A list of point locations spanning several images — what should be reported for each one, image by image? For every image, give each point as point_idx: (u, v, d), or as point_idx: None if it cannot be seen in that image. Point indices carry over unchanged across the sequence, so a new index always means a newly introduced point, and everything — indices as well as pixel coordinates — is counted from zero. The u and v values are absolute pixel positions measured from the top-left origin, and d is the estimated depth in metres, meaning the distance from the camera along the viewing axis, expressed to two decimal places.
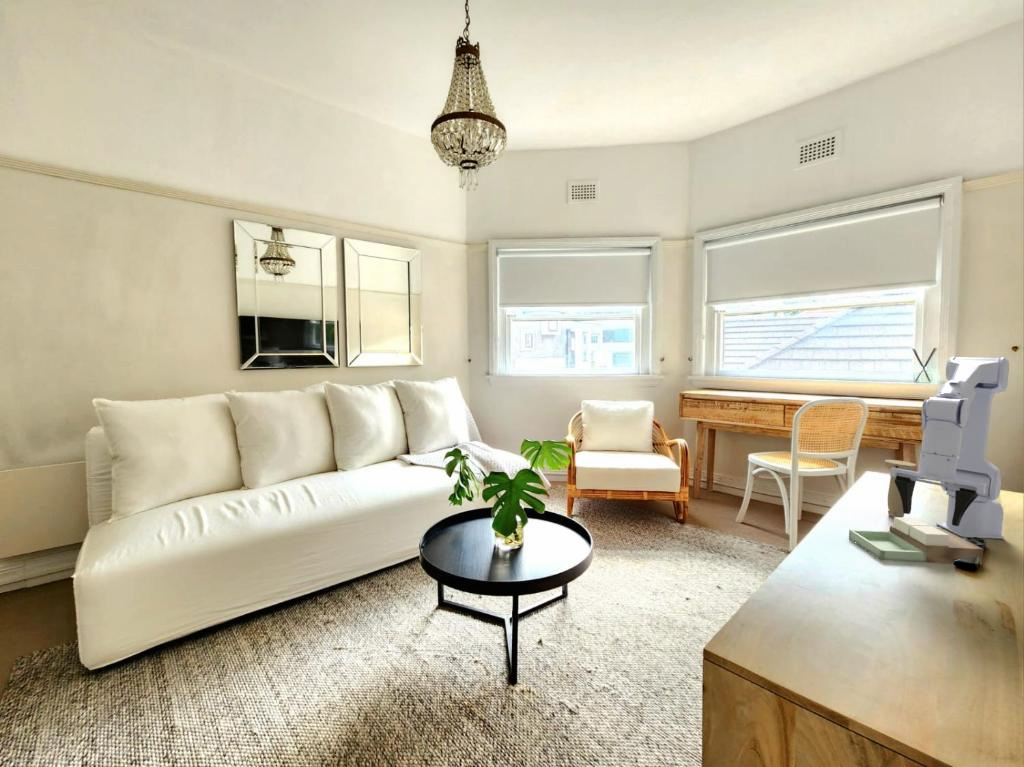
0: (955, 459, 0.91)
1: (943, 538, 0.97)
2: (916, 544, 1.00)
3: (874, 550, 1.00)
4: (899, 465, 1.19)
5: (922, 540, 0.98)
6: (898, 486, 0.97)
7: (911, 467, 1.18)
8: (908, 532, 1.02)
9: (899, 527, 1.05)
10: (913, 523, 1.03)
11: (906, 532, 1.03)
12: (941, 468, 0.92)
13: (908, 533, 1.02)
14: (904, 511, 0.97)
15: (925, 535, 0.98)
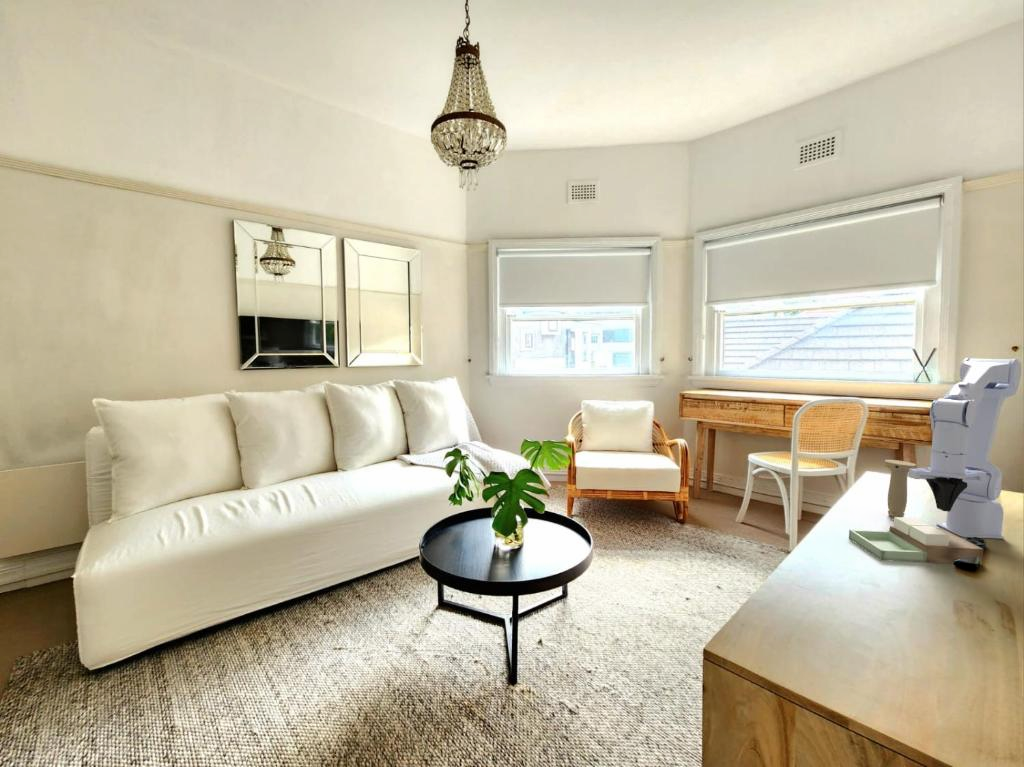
0: None
1: (943, 538, 0.97)
2: (916, 544, 1.00)
3: (874, 550, 1.00)
4: (899, 465, 1.19)
5: (922, 540, 0.98)
6: (945, 489, 1.01)
7: (911, 467, 1.18)
8: (908, 532, 1.02)
9: (899, 527, 1.05)
10: (913, 523, 1.03)
11: (906, 532, 1.03)
12: (963, 466, 1.00)
13: (908, 533, 1.02)
14: (945, 509, 1.02)
15: (925, 535, 0.98)
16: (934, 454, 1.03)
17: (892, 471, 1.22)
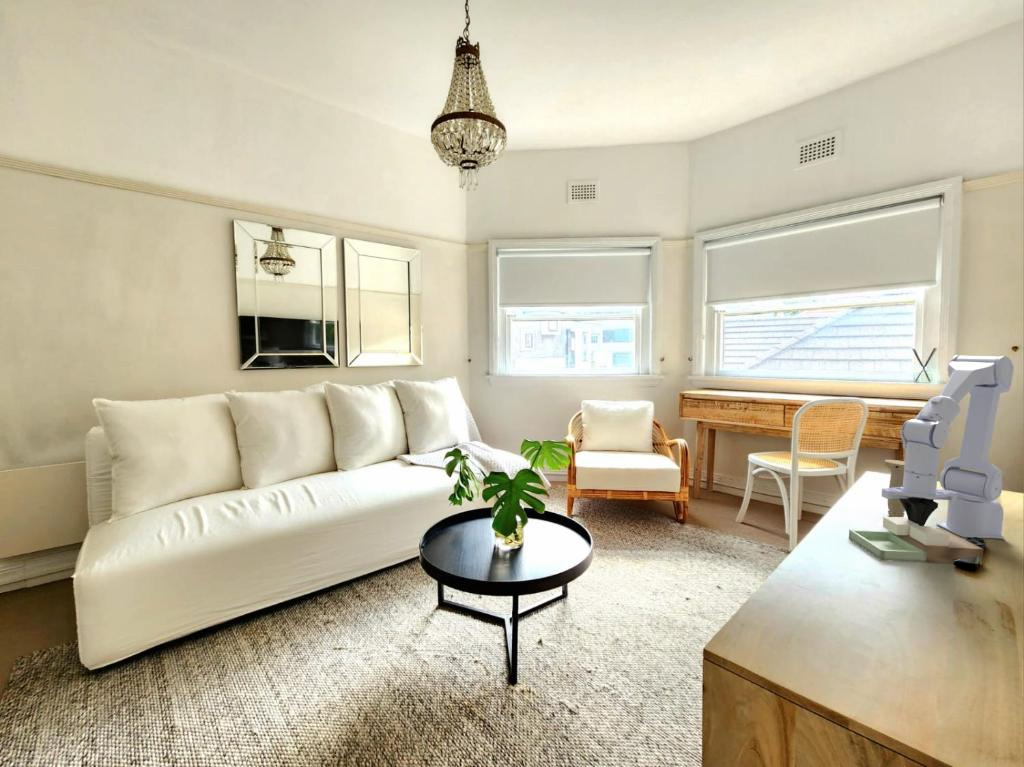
0: None
1: (943, 538, 0.97)
2: (916, 544, 1.00)
3: (874, 550, 1.00)
4: (899, 465, 1.19)
5: (922, 540, 0.98)
6: (917, 509, 1.02)
7: None
8: (897, 532, 1.03)
9: (888, 527, 1.05)
10: (902, 523, 1.03)
11: (895, 532, 1.03)
12: (934, 486, 1.01)
13: (897, 533, 1.03)
14: None
15: (925, 535, 0.98)
16: (906, 474, 1.04)
17: (892, 471, 1.22)
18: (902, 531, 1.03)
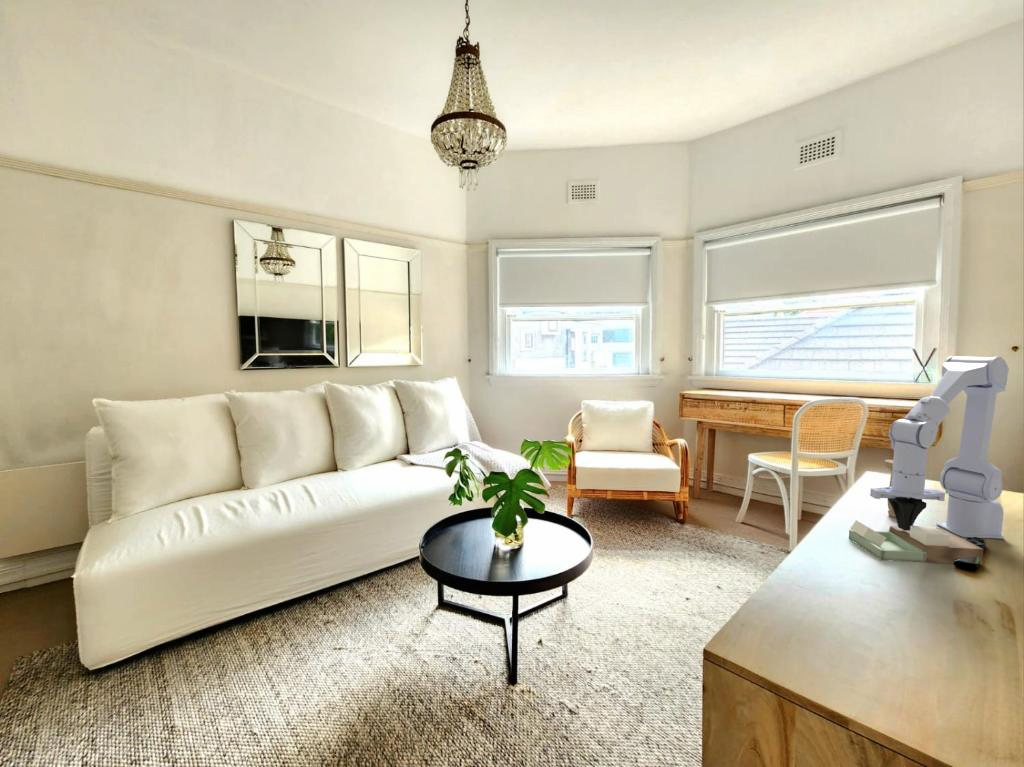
0: None
1: (943, 538, 0.97)
2: (916, 544, 1.00)
3: (874, 550, 1.00)
4: None
5: (922, 540, 0.98)
6: (905, 509, 1.02)
7: None
8: (884, 540, 1.03)
9: None
10: (871, 541, 1.04)
11: None
12: (922, 486, 1.01)
13: (884, 539, 1.03)
14: (905, 528, 1.03)
15: (925, 535, 0.98)
16: (894, 474, 1.04)
17: None
18: (879, 538, 1.03)
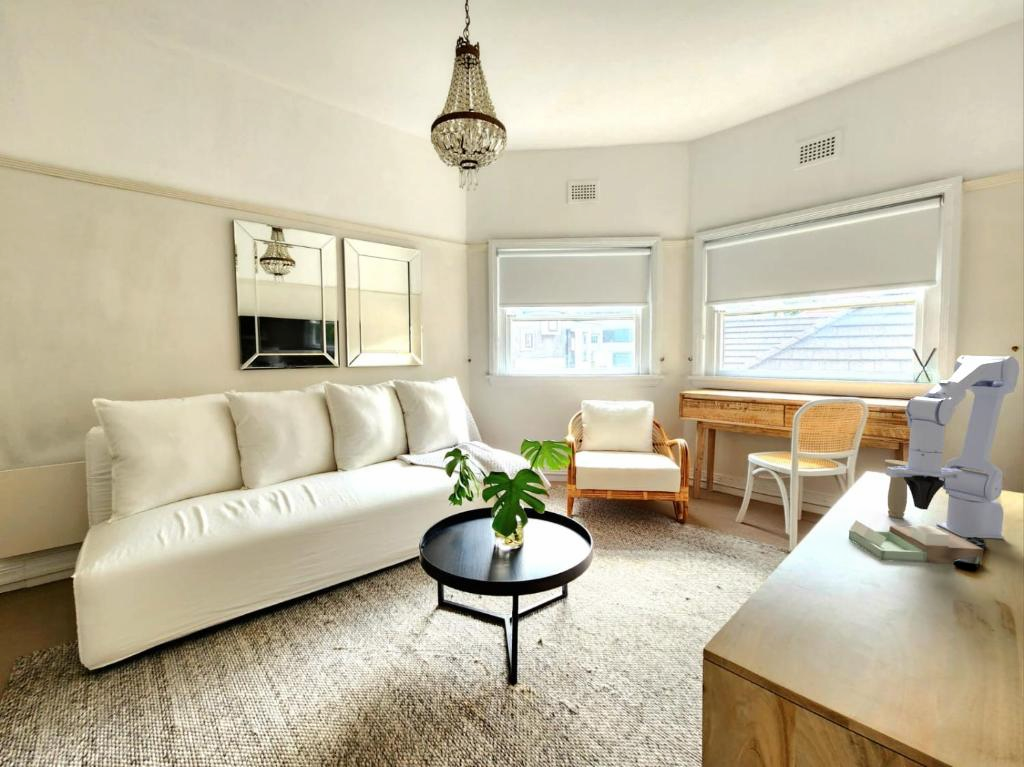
0: None
1: (943, 538, 0.97)
2: (916, 544, 1.00)
3: (874, 550, 1.00)
4: (899, 465, 1.19)
5: (922, 540, 0.98)
6: (922, 487, 1.01)
7: None
8: (884, 540, 1.03)
9: None
10: (871, 541, 1.04)
11: None
12: (939, 464, 1.00)
13: (884, 539, 1.03)
14: (922, 507, 1.02)
15: (925, 535, 0.98)
16: (911, 452, 1.03)
17: None
18: (879, 538, 1.03)
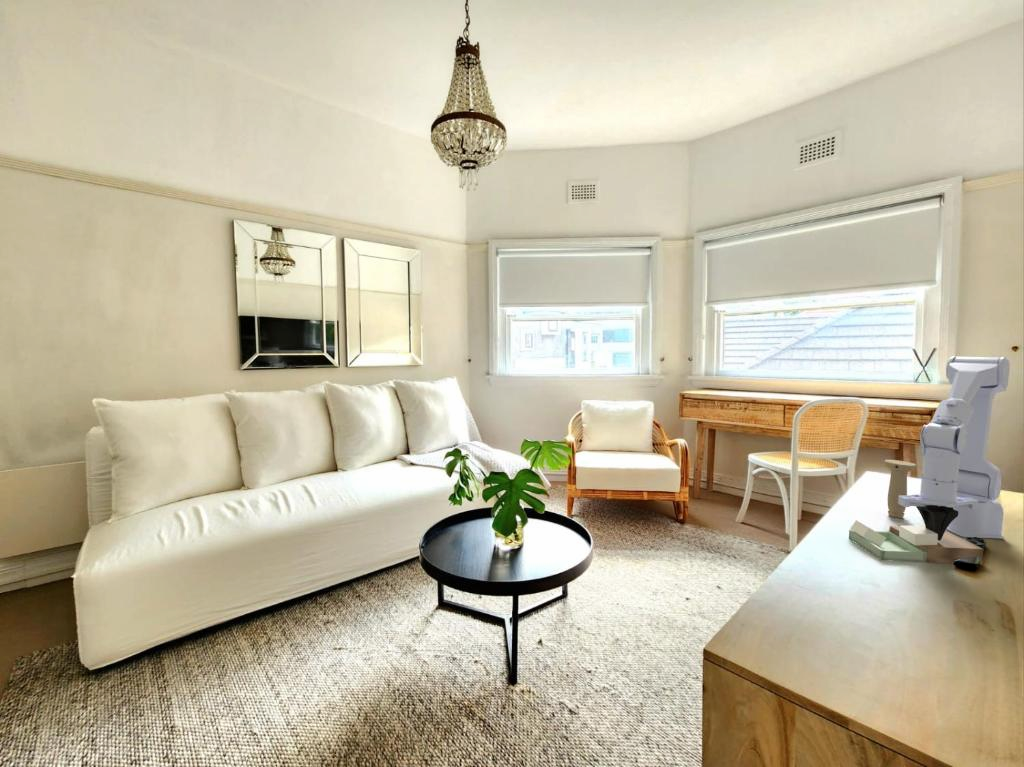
0: None
1: (931, 537, 0.97)
2: None
3: (874, 550, 1.00)
4: (899, 465, 1.19)
5: (911, 540, 0.99)
6: (936, 517, 0.97)
7: (911, 467, 1.18)
8: (884, 540, 1.03)
9: None
10: (871, 541, 1.04)
11: None
12: (954, 494, 0.96)
13: (884, 539, 1.03)
14: None
15: (914, 535, 0.98)
16: (924, 481, 0.99)
17: (892, 471, 1.22)
18: (879, 538, 1.03)
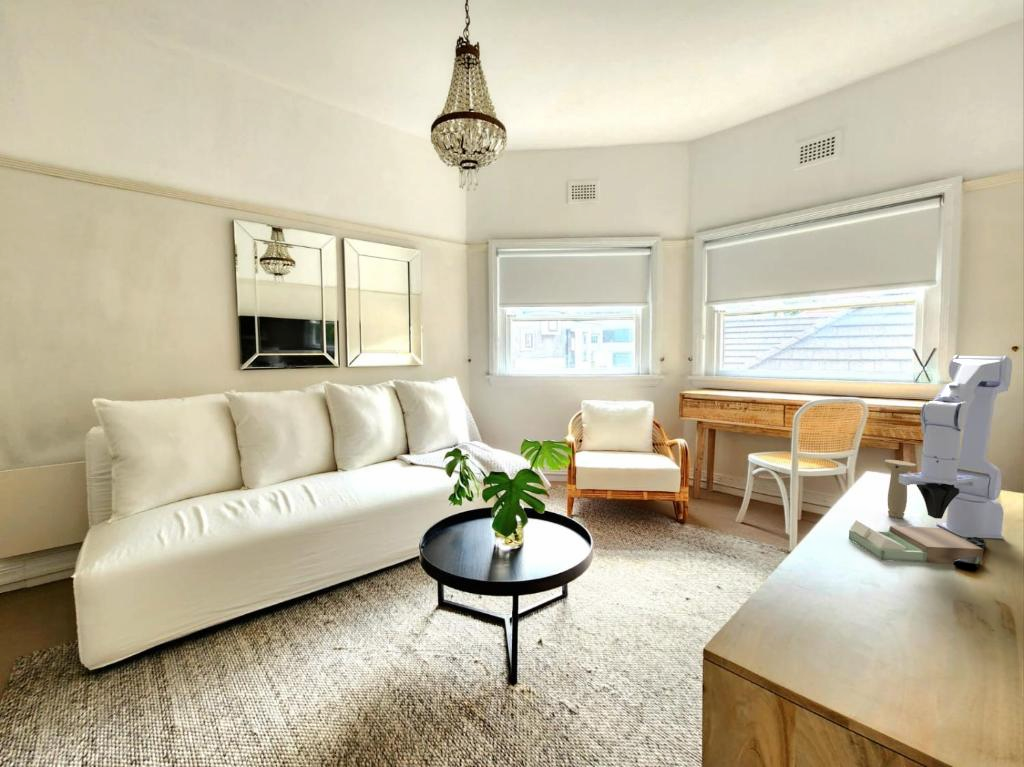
0: None
1: (887, 547, 0.99)
2: (916, 544, 1.00)
3: (874, 550, 1.00)
4: (899, 465, 1.19)
5: None
6: (936, 495, 0.96)
7: (911, 467, 1.18)
8: None
9: None
10: None
11: None
12: (955, 471, 0.95)
13: None
14: (936, 516, 0.98)
15: None
16: (925, 459, 0.98)
17: (892, 471, 1.22)
18: None
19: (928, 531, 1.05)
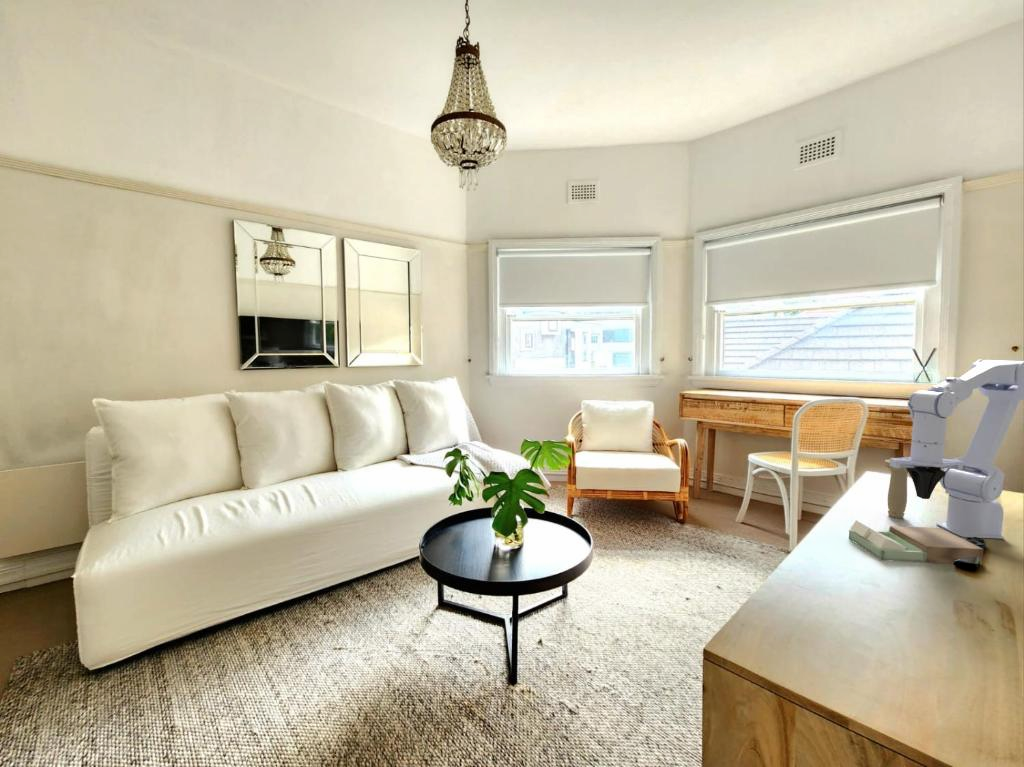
0: None
1: (887, 547, 0.99)
2: (916, 544, 1.00)
3: (874, 550, 1.00)
4: None
5: None
6: (924, 477, 1.05)
7: None
8: None
9: None
10: None
11: None
12: (941, 455, 1.04)
13: None
14: (924, 497, 1.06)
15: None
16: (914, 444, 1.07)
17: (892, 471, 1.22)
18: None
19: (928, 531, 1.05)
